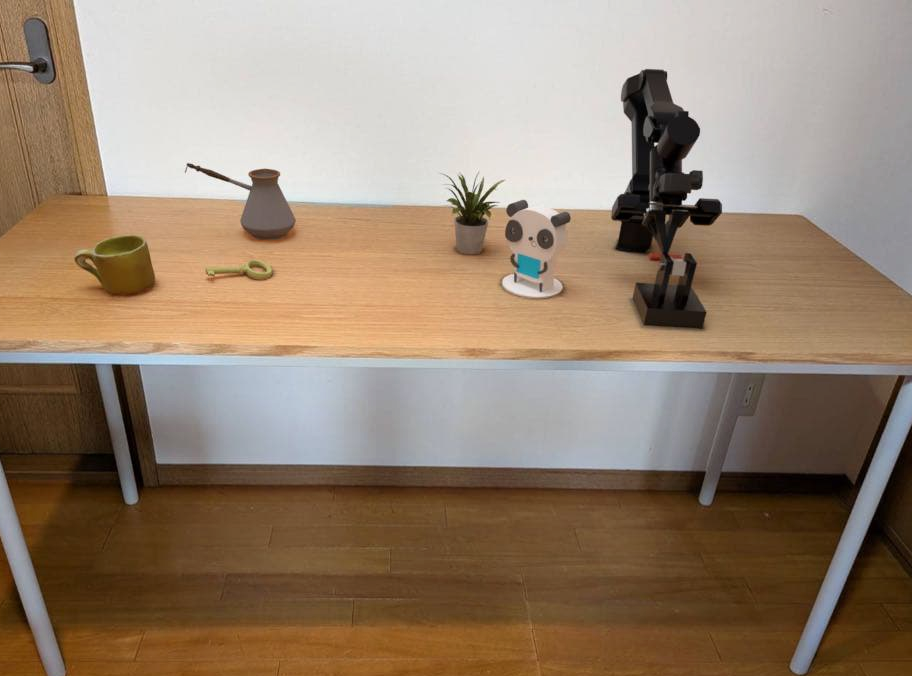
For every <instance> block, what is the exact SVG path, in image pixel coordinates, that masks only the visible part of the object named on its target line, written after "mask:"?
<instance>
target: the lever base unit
mask: <svg viewBox="0 0 912 676" xmlns="http://www.w3.org/2000/svg"><path fill="white" fill-rule="evenodd" d="M669 254H670V253H669V252H661V258H660V262H659V261H658V264H657V265H658V266H657V272H656V277H655V281H654V283H651V282H649V283H648V282H635V284H634V291H633V293H632V301H633V303H634V306H635V308H636V311H637V313H638V315H639V318H640V320H641V322H642V325H643V326H647V327H663V328H664V327H665V328H680V329H698V330H699V329H701V330H703V328H704V327H703V326H704V324H705V319H706V316H707V310H706V308H705V307H704V304H703V303H702V301H701V300H700V299H699V297H698V295H697V293H696V292H695V290H694V288H693V287H692V285H693V280H694V278H695V277H694V276H695V272H696V269H697V264H698V263H697V261H696V259H695V258H694V256H693V255H692V253H688V252H685V253H684V256H683V260H684V261H686V262H687V263H686V269H685V274H684V276H678V277H679V278H678V281H677V284H671V283H670V284H669V281H670V278H671V277H670V276H671V275H670V273H671V268H672V264H673V261H672V259H671V257H670V256H669Z"/></svg>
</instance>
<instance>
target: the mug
mask: <svg viewBox="0 0 912 676" xmlns="http://www.w3.org/2000/svg"><path fill="white" fill-rule="evenodd" d="M151 257H152V256H151V253H150V249H149V245H148V242H147V240H146V239H145V238H144V237H143V236H140V235H131V234H130V235H119V236H114V237H110V238H109V237H108V238H106V239H103V240H102V241H99V242H98V243H96V244H95V245H94V246H93V249H92V250H91V249H80V250H78V251H77V253H76V254H75V256H74V259H73V260H74V262H75V263H76V265H77V266H78V267H79V268H81V269H82V270H84V271H86V272H88V273H90V274H91V275H93V276H94V277H95V278H96V279H97V280H98V282H99V283H100V285H102V287H104V288H105V289H106V290H107V291H108V292H109V293H111V294H113V295H125V296H135V295H139V294H141V293H145V292H146V291H147V290H149V289H150V288H152V287H153V286H154V285H155V282H156V274H155V270H154V268H153V263H152V259H151ZM86 260H91V262H92V263H93V265H94V266H93V265H91V264H90V263H88V262H87V261H86Z"/></svg>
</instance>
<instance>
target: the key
mask: <svg viewBox="0 0 912 676" xmlns="http://www.w3.org/2000/svg"><path fill="white" fill-rule="evenodd" d="M253 267H257V268H258V267H259V268H262V269H264V270H266V271H264V272H258V271H255V270H253V269H252V268H253ZM227 274H229V275H230V274H231V275H232V274H239V276H243V275H244V274H246V275H247V276H248V277H249V278H251V279H254V280H259V281H260V280H262V281H263V280H267V279H270V278H271V276H272V275H273V268H272V267H271V266H270V264H268V263H267V262H265V261H263V260H259V259H249V260H247V261H246V262H245V264H244V266H243V265H242V264H239V265H238V266H221V267H205V275H207V276H208V277H215V276H216V275H227Z"/></svg>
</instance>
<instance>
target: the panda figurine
mask: <svg viewBox="0 0 912 676" xmlns="http://www.w3.org/2000/svg"><path fill="white" fill-rule="evenodd" d="M505 211H506V215H507V216H508V217H510V219H509V220H508V221H507V224H506V226H505V230H504V231H505V232H504V236H505V239H506V241H507V244H508V247H509V248H510V250H511V252H512V254H511V255H510V259H509V261H510V263H511V265H512V266H513V267H514V270H513V271H514V272H513V273H511V274H508V275H506V276H505V277H504V278H503V279H502V282H501V284H502V288H503V289H504V290H505V291H506V292H509V293H511V294H512V295H515V296H518V297H522V298H525V299H549V298H552V297H553V296H555V295H558V294H559V293H561V291H562V290H563V284H562V283H561V281H559V280H558V279H557V278H556V277H555V272H556V263H557V257H559V256H561V255H562V254H563V252H564V251H565V249H566V247H567V244H568V228H567V224H569V223H570V222H571V214H570V213H569V212H568V211H562V212H560V213H559V212H558V211H556V210H555V209H553V208H550V207H548V206H544V205H532V206H529V203H528V201H527V200H526V199H521V200H518V201H515V202H512V203H509V204H508V205H507V207H506V210H505Z"/></svg>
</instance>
